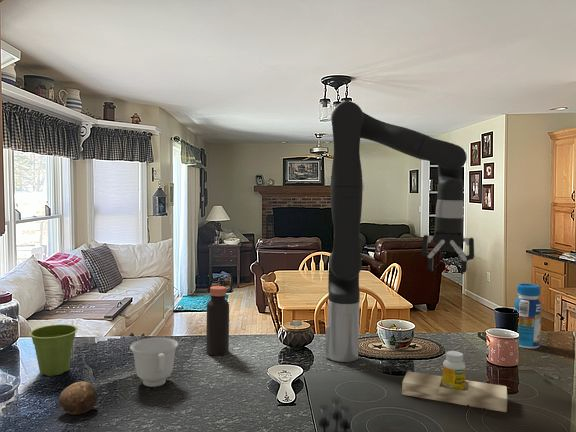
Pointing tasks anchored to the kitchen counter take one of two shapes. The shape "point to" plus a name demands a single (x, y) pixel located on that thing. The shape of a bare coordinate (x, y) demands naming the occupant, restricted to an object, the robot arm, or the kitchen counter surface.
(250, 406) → the kitchen counter surface
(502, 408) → the wooden plank
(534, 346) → the beverage bottle
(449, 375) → the supplement bottle
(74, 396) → the brown potato
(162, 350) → the teacup
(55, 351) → the plant pot
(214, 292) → the vinegar
